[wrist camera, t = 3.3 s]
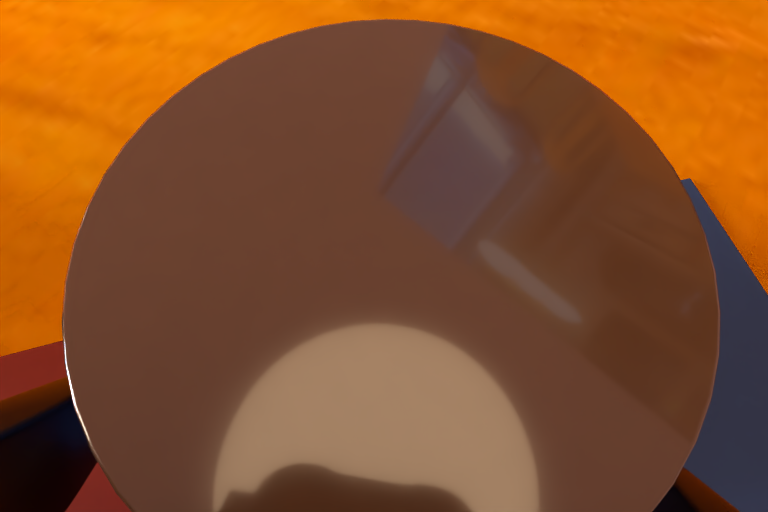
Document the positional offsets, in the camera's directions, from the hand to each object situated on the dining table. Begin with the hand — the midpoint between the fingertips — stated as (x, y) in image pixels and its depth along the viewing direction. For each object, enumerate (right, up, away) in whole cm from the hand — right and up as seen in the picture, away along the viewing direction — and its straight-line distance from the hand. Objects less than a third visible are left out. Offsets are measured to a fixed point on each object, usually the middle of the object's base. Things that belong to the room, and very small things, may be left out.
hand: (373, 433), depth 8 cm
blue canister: (0, -2, +9) cm, 9 cm away
